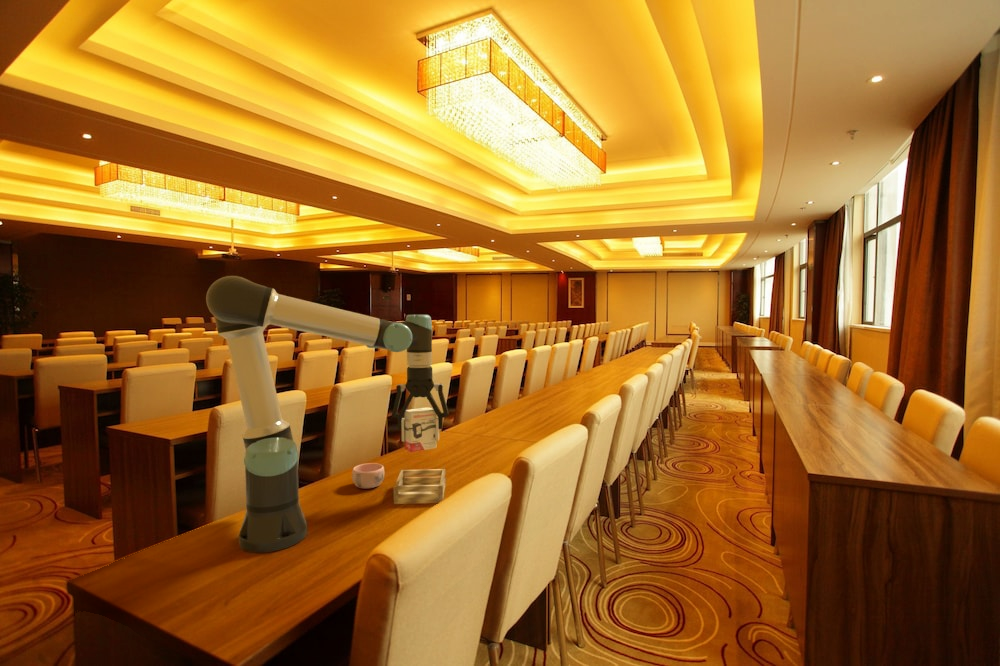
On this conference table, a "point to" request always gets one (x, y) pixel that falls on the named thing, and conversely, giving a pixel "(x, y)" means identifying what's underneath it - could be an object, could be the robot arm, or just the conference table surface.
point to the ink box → (420, 429)
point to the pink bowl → (368, 475)
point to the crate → (419, 487)
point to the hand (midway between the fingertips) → (420, 439)
